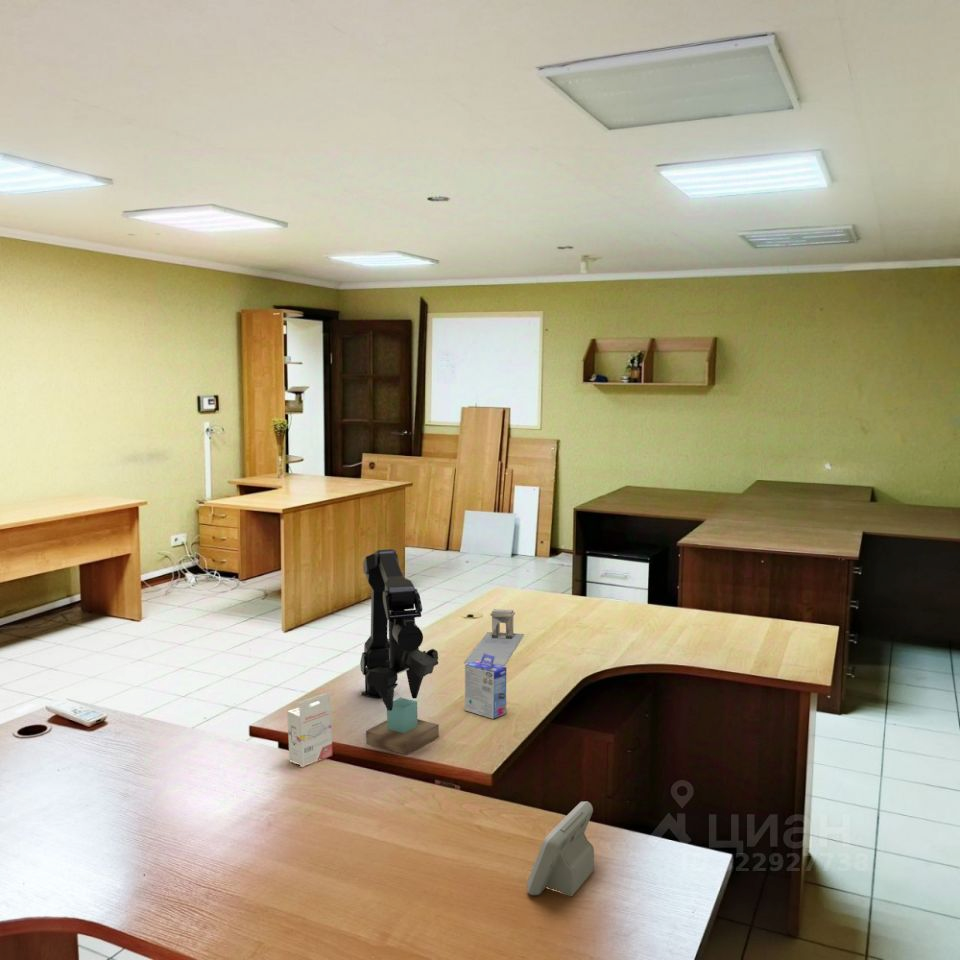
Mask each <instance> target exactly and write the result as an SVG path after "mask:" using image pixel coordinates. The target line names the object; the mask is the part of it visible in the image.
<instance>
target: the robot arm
mask: <svg viewBox="0 0 960 960" xmlns="http://www.w3.org/2000/svg"><path fill="white" fill-rule="evenodd" d="M362 566H363V574H364V575H365V577H366V579H367V583H368V584H369V587H370V588H371V591H370V592H371V595H370V596H371V597H370V598H371V599H370V600H371V601H370V603H371V604H370V636H369V637H368V638H367V640H366V641H365V643H364V647H363V648H364V649H363V650H364V651H363V652H362V653H361V658H360V671H361V673H362V676H364V677H365V678H364V687H365V688H364V689H365V690H364V691H362V692H361V695H363V696H367V697H371V698H375V699H382V703H383V704H384V706H385V708H386V711H387V710H389V711H392V708H393V701H394V692H395V688H397V686H398V684H399V683H397V681H398V675H399V674H402V673H405V672H406V677H407V682H408V687H409V691H410V694H411V698H412V699H413V700H415V699H418V698H417V697H418V695H419V692H420V689H421V686H422V682H423V679H424V677H426V676H427V675H431V674H433V671H434V668H435V666H438V665H439V653H438V650H437V649H434V648H431V649H429V650H427V651H426V650H423V651H422V650H421V649H420V646H422V644H423V641H424V634H423V632H422V630H421V629H420V627H419V626H418V625H417V624H416V618H421V617H422V612H423V605H422V601H421V596H420V593H419V592H418V589H417V588H415V586H414V584H413V581H412V580H410V579H408V578H406V577H405V576H404V575H403V572H402V569H401V566H400V561H399V554H397V551H396V550H395V549H390V548H389V549H378V550H375V551H374V553H371V554H369V555H367V556H365V558H364V560H363V564H362Z"/></svg>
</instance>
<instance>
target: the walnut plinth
mask: <svg viewBox="0 0 960 960" xmlns="http://www.w3.org/2000/svg"><path fill="white" fill-rule="evenodd" d="M417 720H418V726H417V727H415V728H413V729H412V730H410V731H408V732H406V733H401V732H397V731H393V730H389V729H387V719H386V720H385V721H383V722H380V723H379V724H377V725H375V726H373V727H371V728H369V729H367V730H366V731H365V735H366V737H365V740H366V744H367V745H371V746H375V747H378V748H381V749H385V750H389V751H392V752H395V753H398V754H399V753H400V754H403V755H406V756H408V755H410V754H411V753H413V752H415V751H417V750H419V749H421V748H422V747H423V746H426V745H427V744H429V743H430V742H432V741H434V740H436V739H438V738H439V737H440V732H439V730H440V726H439V725H440V724H439V723H435V722H431V721H426V720H422V719H419V718H417Z"/></svg>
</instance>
